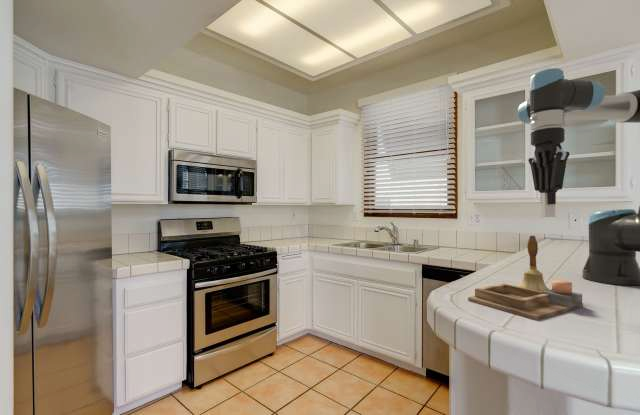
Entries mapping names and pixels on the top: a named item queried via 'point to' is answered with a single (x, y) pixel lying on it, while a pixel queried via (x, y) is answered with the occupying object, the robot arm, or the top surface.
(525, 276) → the hand bell
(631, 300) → the top surface
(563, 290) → the button
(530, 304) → the station
